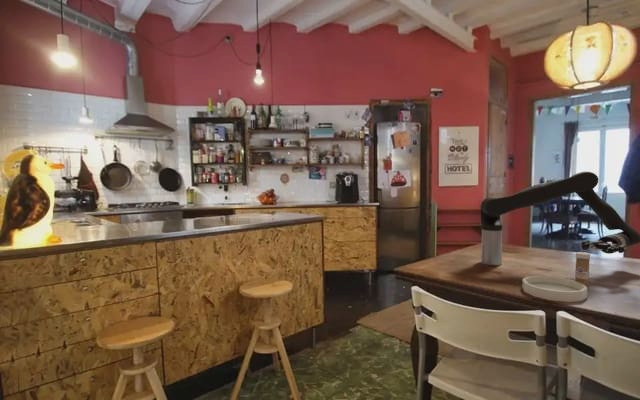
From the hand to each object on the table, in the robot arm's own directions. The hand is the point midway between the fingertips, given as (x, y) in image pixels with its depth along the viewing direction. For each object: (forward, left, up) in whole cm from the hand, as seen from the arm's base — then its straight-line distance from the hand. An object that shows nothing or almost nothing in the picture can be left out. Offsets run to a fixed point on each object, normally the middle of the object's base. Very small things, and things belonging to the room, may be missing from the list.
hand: (595, 248), depth 147 cm
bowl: (-19, -21, -14) cm, 31 cm away
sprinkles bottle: (-7, -9, -14) cm, 18 cm away
